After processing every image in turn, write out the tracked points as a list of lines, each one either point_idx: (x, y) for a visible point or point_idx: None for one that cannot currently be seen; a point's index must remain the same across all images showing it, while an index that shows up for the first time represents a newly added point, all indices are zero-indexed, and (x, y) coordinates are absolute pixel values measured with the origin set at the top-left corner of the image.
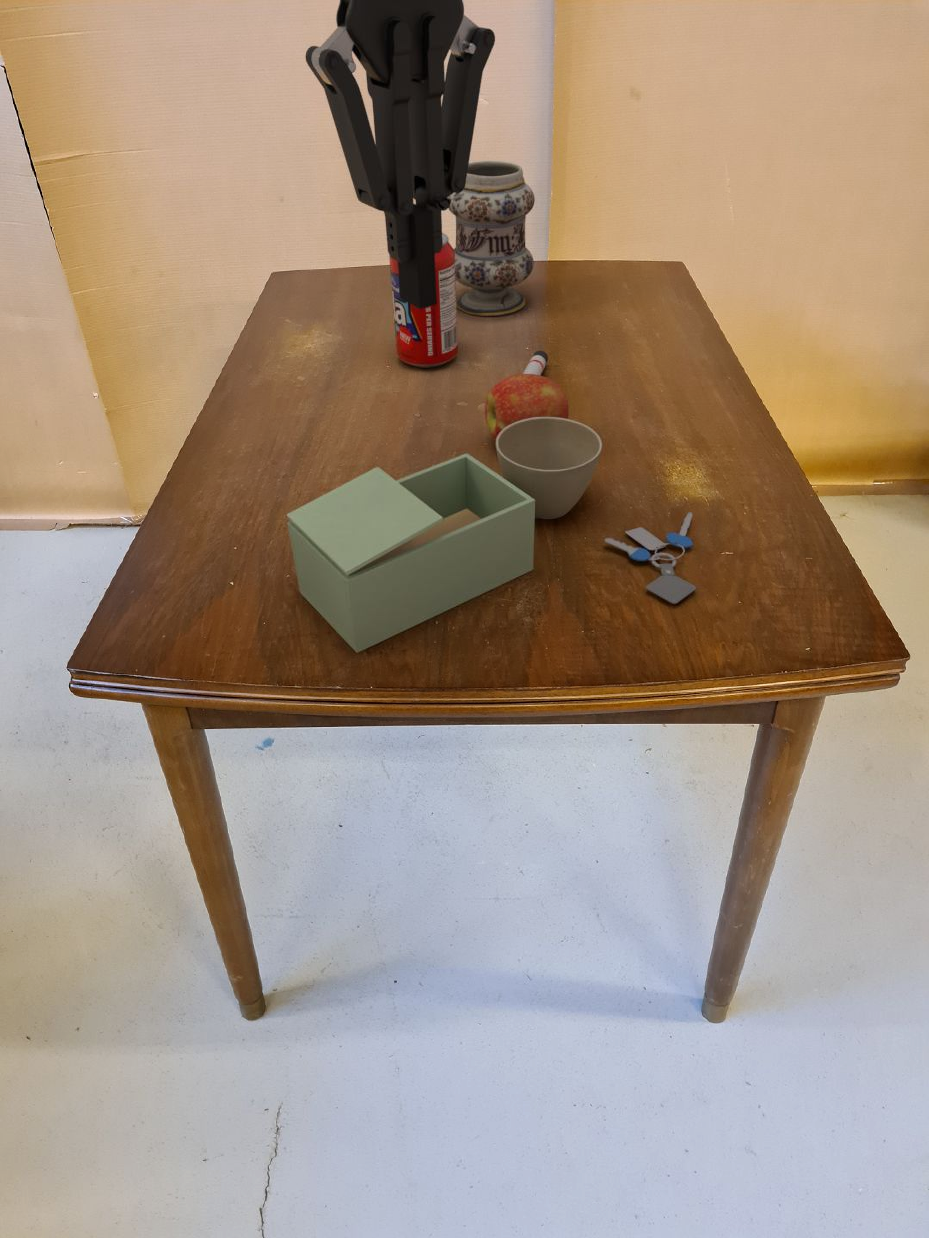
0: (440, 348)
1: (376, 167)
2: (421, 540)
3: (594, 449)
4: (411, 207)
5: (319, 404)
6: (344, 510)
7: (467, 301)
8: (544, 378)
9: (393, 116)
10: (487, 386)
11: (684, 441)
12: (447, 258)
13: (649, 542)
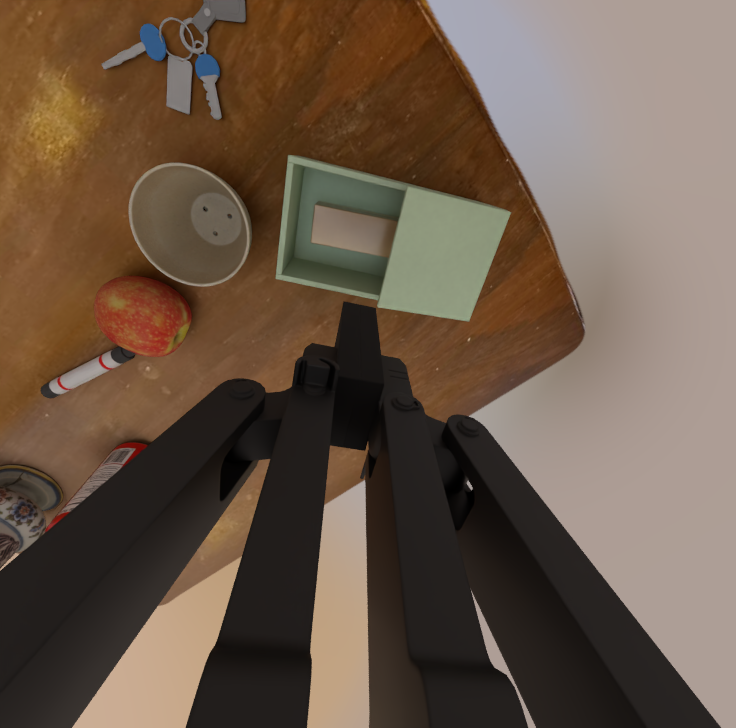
0: (134, 453)
1: (504, 490)
2: (376, 239)
3: (145, 192)
4: (388, 399)
5: (263, 463)
6: (443, 282)
7: (49, 499)
8: (105, 320)
9: (474, 615)
10: (126, 395)
11: (5, 177)
12: None
13: (181, 76)
